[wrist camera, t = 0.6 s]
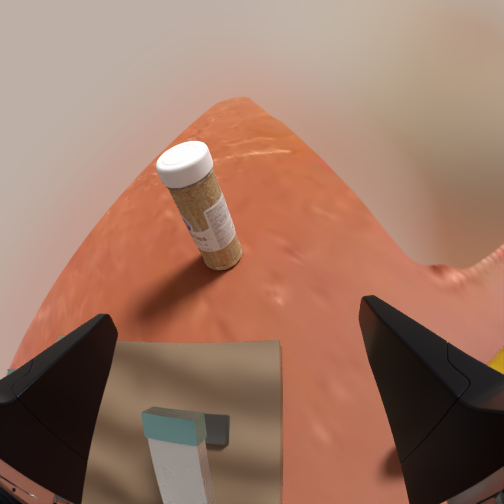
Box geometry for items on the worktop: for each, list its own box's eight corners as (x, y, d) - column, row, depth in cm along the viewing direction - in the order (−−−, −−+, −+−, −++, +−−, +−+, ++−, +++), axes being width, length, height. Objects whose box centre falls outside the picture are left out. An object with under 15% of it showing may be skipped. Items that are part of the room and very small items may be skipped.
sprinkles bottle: (197, 260, 31) (144, 164, 21) (223, 234, 33) (184, 136, 23) (225, 279, 29) (174, 175, 18) (252, 249, 30) (218, 142, 20)
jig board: (280, 554, 10) (270, 582, 6) (50, 484, 15) (15, 479, 10) (281, 347, 23) (273, 322, 19) (69, 341, 27) (39, 320, 23)
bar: (227, 550, 10) (222, 561, 8) (186, 543, 10) (179, 552, 9) (203, 412, 13) (194, 420, 11) (153, 406, 13) (140, 412, 12)
